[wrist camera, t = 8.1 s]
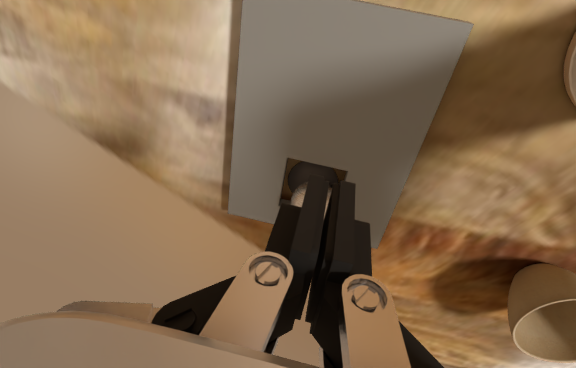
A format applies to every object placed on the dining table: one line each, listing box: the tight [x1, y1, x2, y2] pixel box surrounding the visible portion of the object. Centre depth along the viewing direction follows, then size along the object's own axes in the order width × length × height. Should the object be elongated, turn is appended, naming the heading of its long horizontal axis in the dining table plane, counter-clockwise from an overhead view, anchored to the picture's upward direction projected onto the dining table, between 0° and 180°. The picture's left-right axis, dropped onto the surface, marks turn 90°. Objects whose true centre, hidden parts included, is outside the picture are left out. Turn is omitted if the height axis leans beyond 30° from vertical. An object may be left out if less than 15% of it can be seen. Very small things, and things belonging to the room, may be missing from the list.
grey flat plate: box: [228, 0, 474, 249], centre depth 33 cm, size 18×24×2 cm
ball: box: [291, 181, 332, 217], centre depth 35 cm, size 5×5×5 cm
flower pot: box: [508, 263, 576, 363], centre depth 36 cm, size 10×10×7 cm
